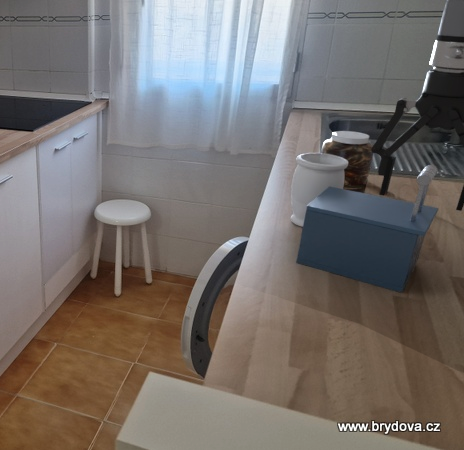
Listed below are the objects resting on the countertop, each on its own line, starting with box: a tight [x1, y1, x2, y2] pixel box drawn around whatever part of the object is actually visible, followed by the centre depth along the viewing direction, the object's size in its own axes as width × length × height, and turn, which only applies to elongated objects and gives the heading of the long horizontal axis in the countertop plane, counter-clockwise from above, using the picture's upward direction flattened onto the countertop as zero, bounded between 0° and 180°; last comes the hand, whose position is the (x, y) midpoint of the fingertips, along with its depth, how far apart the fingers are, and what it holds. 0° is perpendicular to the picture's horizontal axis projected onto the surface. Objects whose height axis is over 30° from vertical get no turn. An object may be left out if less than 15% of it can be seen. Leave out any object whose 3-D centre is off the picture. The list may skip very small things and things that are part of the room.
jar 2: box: [320, 130, 374, 194], centre depth 139 cm, size 12×12×15 cm
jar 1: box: [290, 152, 348, 228], centre depth 120 cm, size 11×10×15 cm
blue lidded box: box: [295, 210, 425, 294], centre depth 102 cm, size 18×14×11 cm
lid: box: [306, 164, 439, 237], centre depth 98 cm, size 19×14×9 cm
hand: (420, 200), depth 94 cm, fingers open, 11 cm apart
